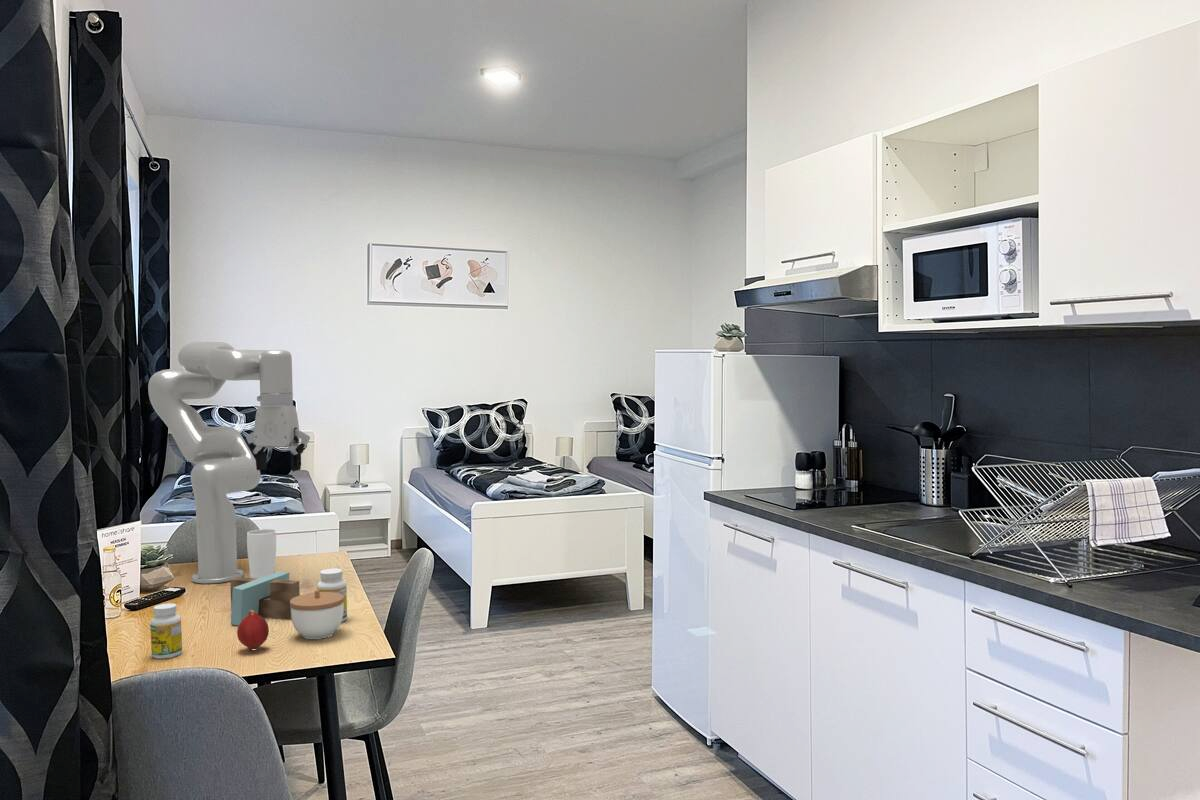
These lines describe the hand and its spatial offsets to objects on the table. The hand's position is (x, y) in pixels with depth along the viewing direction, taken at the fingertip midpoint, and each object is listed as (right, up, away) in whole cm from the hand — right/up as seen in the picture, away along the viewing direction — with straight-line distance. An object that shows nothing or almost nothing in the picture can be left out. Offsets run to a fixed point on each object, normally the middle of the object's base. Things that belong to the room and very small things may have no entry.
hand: (278, 470), depth 217 cm
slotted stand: (+4, -31, -20) cm, 37 cm away
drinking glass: (-5, -31, +2) cm, 31 cm away
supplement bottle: (-5, -33, -46) cm, 56 cm away
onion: (+11, -32, -43) cm, 55 cm away
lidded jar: (+21, -32, -34) cm, 51 cm away
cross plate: (+3, -31, -19) cm, 37 cm away
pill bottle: (+21, -31, -24) cm, 45 cm away
